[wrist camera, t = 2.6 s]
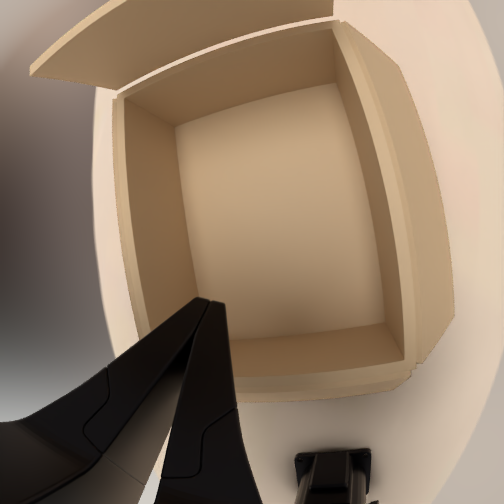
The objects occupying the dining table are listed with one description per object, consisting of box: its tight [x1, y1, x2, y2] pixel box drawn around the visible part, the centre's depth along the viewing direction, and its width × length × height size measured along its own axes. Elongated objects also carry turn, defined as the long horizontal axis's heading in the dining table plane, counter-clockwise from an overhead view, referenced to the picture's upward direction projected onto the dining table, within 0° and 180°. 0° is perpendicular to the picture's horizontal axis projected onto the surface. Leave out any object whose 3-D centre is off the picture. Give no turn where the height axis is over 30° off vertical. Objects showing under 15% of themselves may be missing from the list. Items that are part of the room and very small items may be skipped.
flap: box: [30, 0, 333, 90], centre depth 9 cm, size 7×13×1 cm
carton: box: [112, 20, 454, 402], centre depth 16 cm, size 22×22×7 cm
